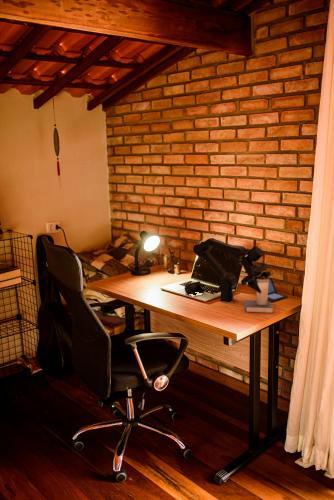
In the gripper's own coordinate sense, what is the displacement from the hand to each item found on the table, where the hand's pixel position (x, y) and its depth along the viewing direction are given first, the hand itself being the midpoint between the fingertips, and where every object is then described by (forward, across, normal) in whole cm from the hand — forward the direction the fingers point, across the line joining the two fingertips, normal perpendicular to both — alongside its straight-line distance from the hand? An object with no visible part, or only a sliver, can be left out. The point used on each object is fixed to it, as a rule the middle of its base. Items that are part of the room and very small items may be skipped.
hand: (264, 291), depth 244 cm
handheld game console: (-1, +22, +16) cm, 27 cm away
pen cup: (+4, 0, +6) cm, 7 cm away
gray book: (+5, 0, +10) cm, 11 cm away
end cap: (-23, -9, +39) cm, 46 cm away
